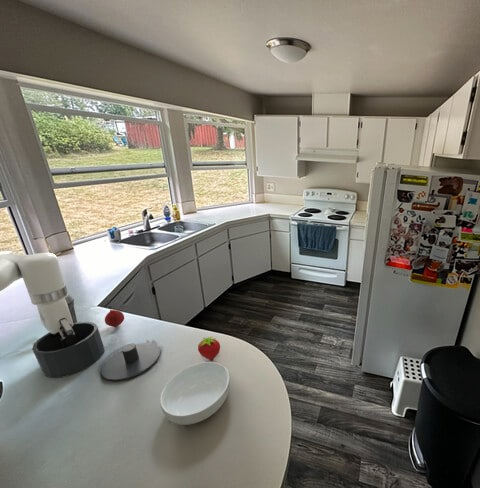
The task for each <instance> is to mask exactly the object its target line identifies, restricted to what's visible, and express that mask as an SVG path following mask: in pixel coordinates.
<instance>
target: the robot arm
mask: <svg viewBox="0 0 480 488" xmlns="http://www.w3.org/2000/svg"><path fill="white" fill-rule="evenodd" d="M60 265H61V264H60V262H59V259H58V256H56V255H55V253H51V252H40V253H39V252H38V253H37V252H36V253H33V254H20V253H19V254H18V253H4V254H3V253H2V254H0V292H1V291H4V290H5V289H6V288H9V286H10V285H11V284H13V283H14V282H16V281H18V280H21V279H22V280H23V282H24V285H25V288H26V289H27V293H28V296H29V298H30V301H31V304H32V305H34V306H36V308H37V311H38V316H39V319H40V322H41V325H42V326H43V327H44V328H45V329H46V330H47V331H48V333H49V332H50V333H51V336H52V338H55V337H57V336H61V338H62V339H60V340H61V342H62V345H63V348H67V347H69V346H72V345H74V344H76V343H78V341H77V338H76V335H75V333H74V331H73V329H72V326H73V320H72V317H71V314H70V311H69V308H68V305H67V303H66V300H65V298H66V297H67V296H68V294H69V292H68V288H67V285H66V282H65V278H64V275H63V272H62V269H61V266H60ZM63 334H64V335H63Z"/></svg>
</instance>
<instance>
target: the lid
mask: <svg viewBox="0 0 480 488" xmlns="http://www.w3.org/2000/svg"><path fill="white" fill-rule="evenodd" d="M160 356H161V348H160V347H159V345H157V344H155V343H153V342H141V343H136V344H135V343H127V344H126V345H124V346H123V347H122V348H121V349H120V350H119V351H117V352H115V353H114V354H112V355H111V356H110V357H109V358H108V359H107V360H106V361H105V362H104V363H103V365H102V367H101V371H100V372H101V376H102V377H103V378H104V379H105V380H108V381H113V382H116V381H117V382H118V381H125V380H128V379H131V378H133V377H136V376H138V375H140V374H142V373H144V372H146V371H147V370H149V369H150V368H151V367H152V366H153V365H155V363H157V361H158V360H159V358H160Z"/></svg>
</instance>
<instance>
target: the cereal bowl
mask: <svg viewBox="0 0 480 488" xmlns="http://www.w3.org/2000/svg"><path fill="white" fill-rule="evenodd" d="M230 386H231V377H230V372H229V370H228V368H227V367H226V366H224V364H222V363H219V362H215V361H203V362H197V363H194V364H191V365H188V366H186V367H185V368H183V369H181V370H180V371H178V372H177V373H175V375H173V376H172V377H171V378H170V379H168V381H167V383H166V384H165V386H164V387H163V389H162V391H161V394H160V398H159V399H160V400H159V402H160V403H159V404H160V408H161V411H162V413H163V415H164V417H166V418H167V420H168V421H170V422H172V423H173V424H176V425H182V426H187V425H194V424H197V423H200V422H203V421H205V420H206V419H208V418H210V417H211V416H212V415H213V414H215V413H216V412H217V411H218V410H219V409H220V408H221V407H222V405H224V402H225V401H226V399H227V397H228V395H229V392H230Z"/></svg>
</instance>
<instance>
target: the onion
mask: <svg viewBox="0 0 480 488" xmlns="http://www.w3.org/2000/svg"><path fill="white" fill-rule="evenodd" d="M124 321H125V315H124V313H123V312H122V311H120V310H116V309H112V308H111V309H109V312H108V313H106V315H105V317H104V323H105V325H107V326H108V327H112V328H117V327H119V326H120V325H122V324H123V322H124Z"/></svg>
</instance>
